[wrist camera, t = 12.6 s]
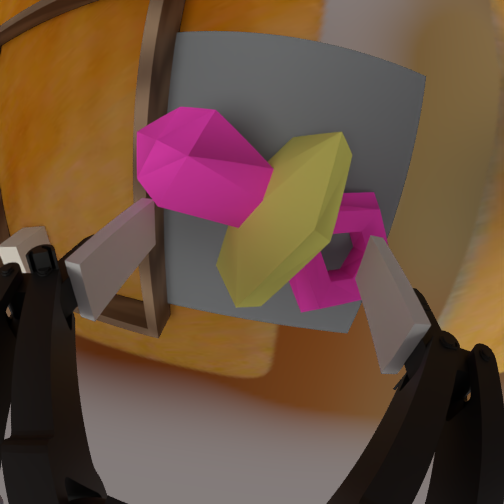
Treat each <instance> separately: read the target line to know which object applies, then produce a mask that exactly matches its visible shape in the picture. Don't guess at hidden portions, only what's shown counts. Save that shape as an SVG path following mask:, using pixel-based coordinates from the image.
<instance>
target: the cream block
mask: <svg viewBox="0 0 504 504" xmlns="http://www.w3.org/2000/svg"><path fill="white" fill-rule="evenodd" d="M42 244H49V245H50V242H49V239H48V236H47V233H46V230H45V226H39V227H27V228H22V229H21V230H19V231H18V232H16V233H15V234H14V235H12V236H11V237H9V238H8V239H7V240H5V241H4V242H3V243H1V244H0V256H1V259H2V261H3V264H6V263H12V262H16V263H18V264H19V265H20V268H21V271H22V273H31V272H30V269H29V265H28V262H27V259H26V254H27V252H28V251H29V250H31V249H32V248H34V247H36V246H38V245H42Z"/></svg>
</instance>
